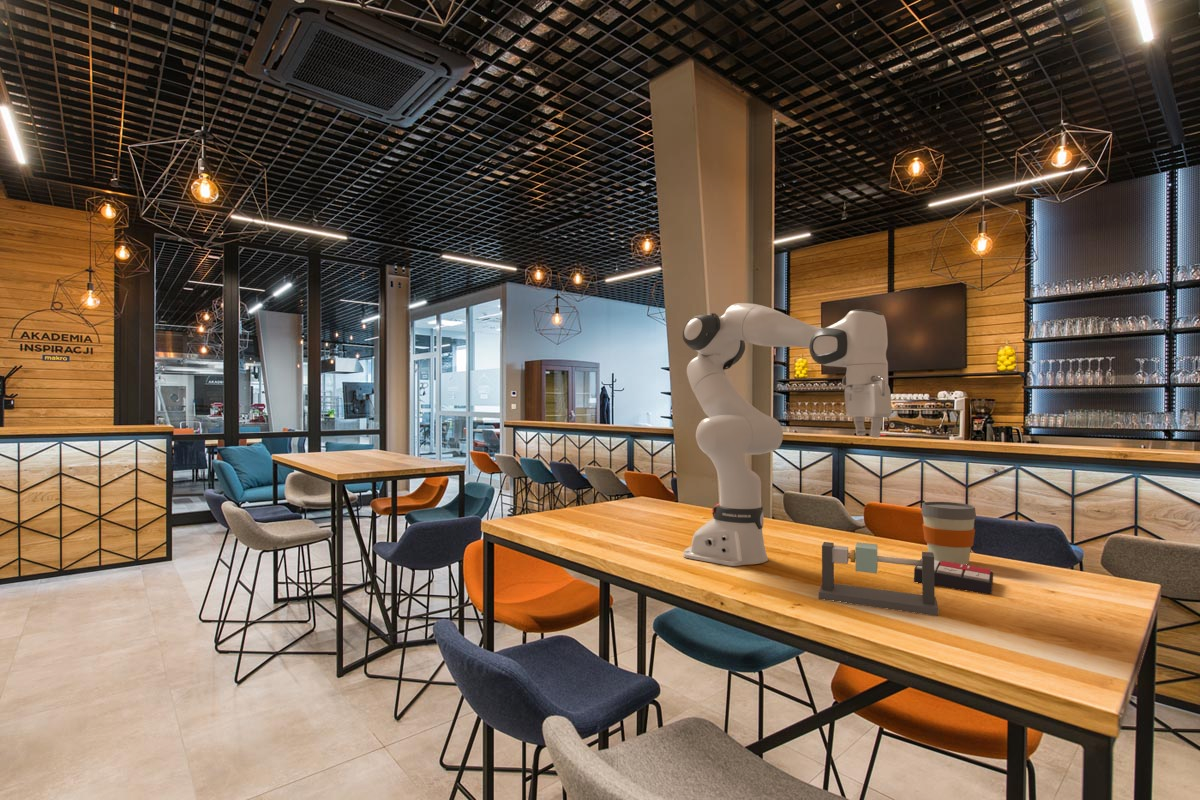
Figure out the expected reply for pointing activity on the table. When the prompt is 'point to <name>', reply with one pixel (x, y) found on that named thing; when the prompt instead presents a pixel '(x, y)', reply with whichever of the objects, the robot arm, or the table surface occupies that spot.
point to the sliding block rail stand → (876, 596)
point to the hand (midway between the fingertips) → (867, 436)
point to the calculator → (959, 577)
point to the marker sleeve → (866, 557)
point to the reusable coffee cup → (949, 530)
